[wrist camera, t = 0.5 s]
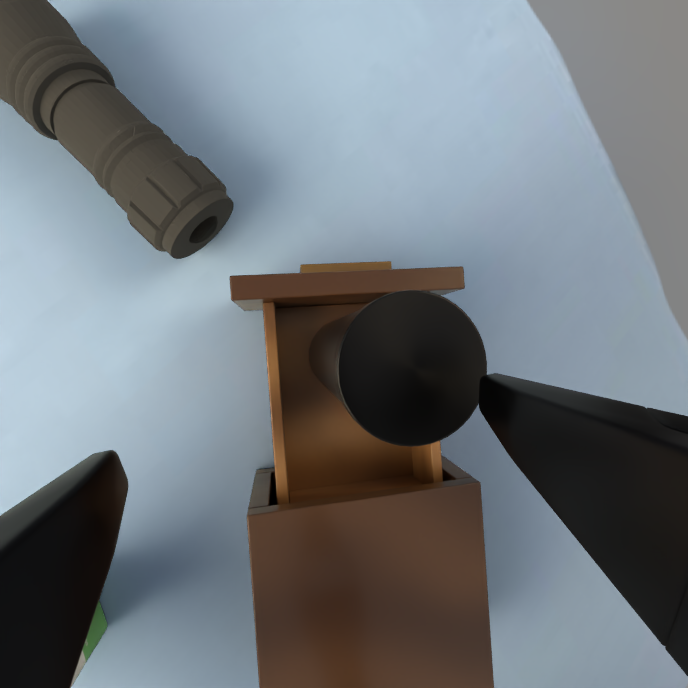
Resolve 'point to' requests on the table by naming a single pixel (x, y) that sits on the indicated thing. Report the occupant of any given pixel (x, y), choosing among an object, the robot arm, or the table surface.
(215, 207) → the flashlight
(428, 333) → the canister
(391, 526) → the drawer unit
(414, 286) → the drawer
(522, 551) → the table surface
